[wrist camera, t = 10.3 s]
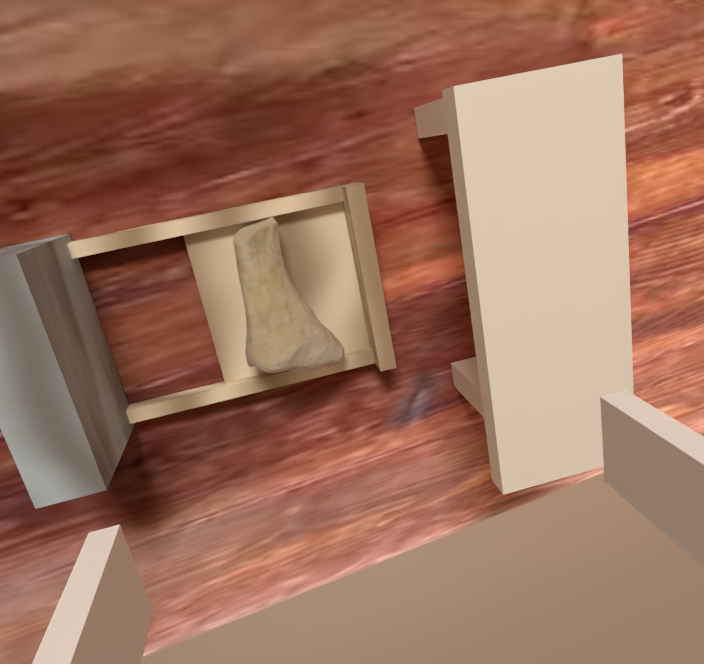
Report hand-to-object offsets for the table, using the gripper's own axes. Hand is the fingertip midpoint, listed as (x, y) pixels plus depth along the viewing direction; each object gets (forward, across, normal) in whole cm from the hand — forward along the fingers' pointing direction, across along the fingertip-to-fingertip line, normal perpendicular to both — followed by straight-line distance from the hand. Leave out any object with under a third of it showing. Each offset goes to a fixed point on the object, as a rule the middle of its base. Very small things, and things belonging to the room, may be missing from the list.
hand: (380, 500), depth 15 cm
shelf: (+27, +12, 0) cm, 29 cm away
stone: (+27, -1, 0) cm, 27 cm away
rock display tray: (+27, -6, 0) cm, 27 cm away
